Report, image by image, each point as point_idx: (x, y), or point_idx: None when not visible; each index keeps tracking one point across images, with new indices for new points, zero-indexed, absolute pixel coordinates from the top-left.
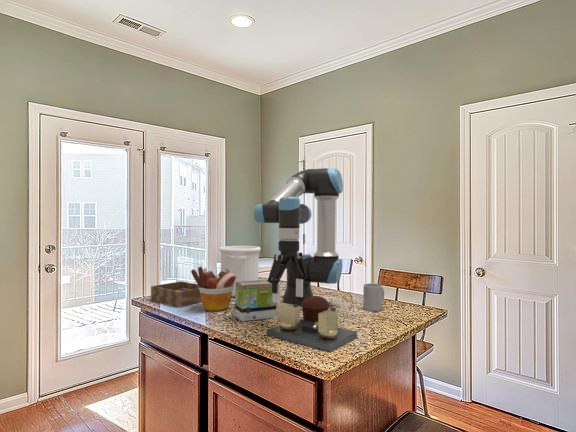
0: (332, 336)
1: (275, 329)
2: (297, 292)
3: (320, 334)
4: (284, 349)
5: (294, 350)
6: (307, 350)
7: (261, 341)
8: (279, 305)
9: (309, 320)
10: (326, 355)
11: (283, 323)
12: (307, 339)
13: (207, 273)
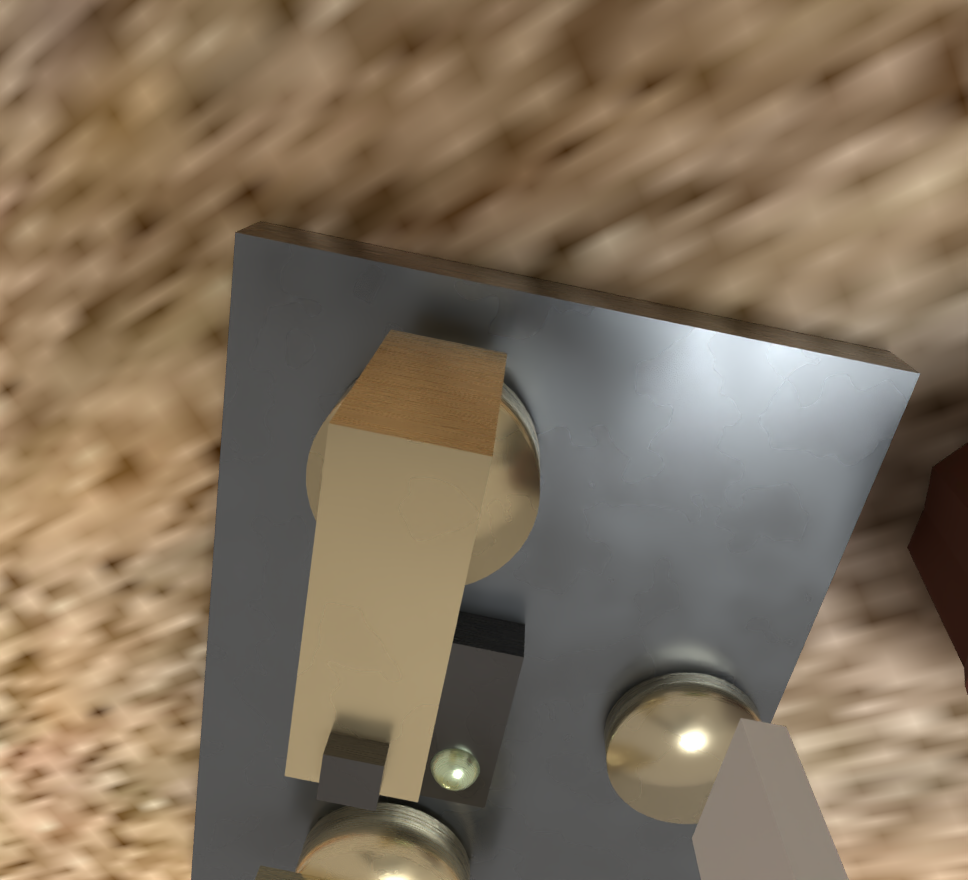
0: None
1: (300, 335)
2: (748, 830)
3: (311, 841)
4: (26, 573)
5: (63, 650)
6: (132, 732)
7: (51, 275)
8: (329, 464)
9: (940, 524)
10: (132, 861)
11: (316, 465)
12: (206, 742)
13: None
